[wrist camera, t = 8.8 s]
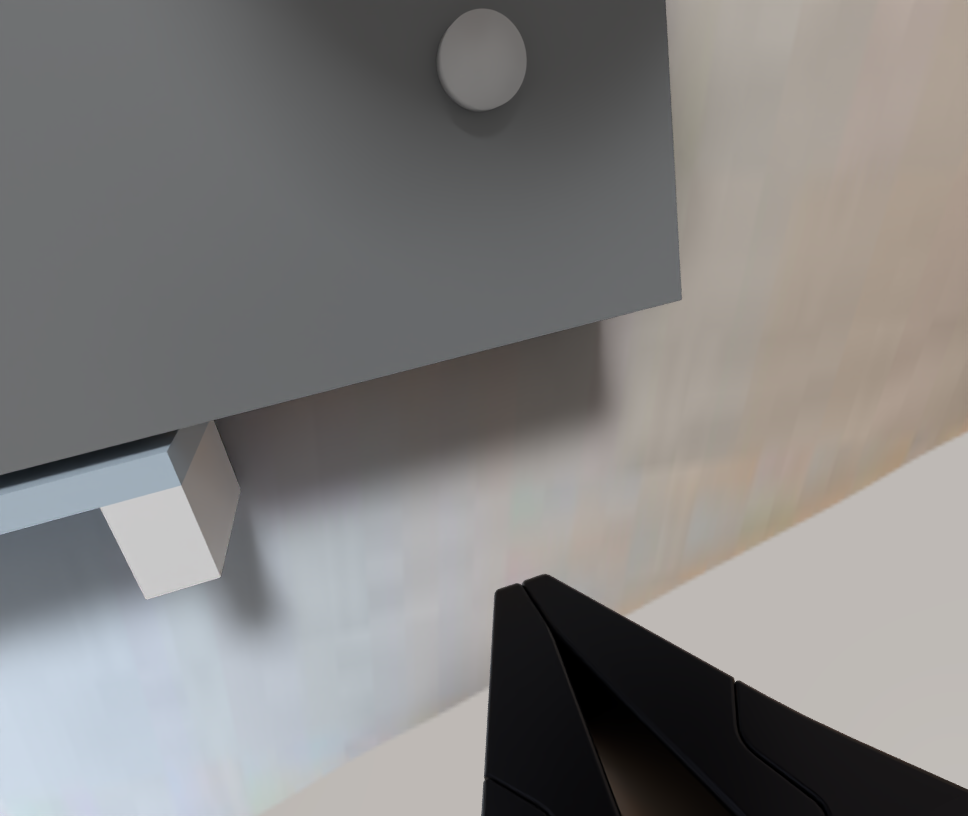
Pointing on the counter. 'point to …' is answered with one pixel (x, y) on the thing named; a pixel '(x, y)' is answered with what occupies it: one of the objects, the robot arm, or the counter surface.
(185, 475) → the side door
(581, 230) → the sliding door box
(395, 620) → the counter surface
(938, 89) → the counter surface
